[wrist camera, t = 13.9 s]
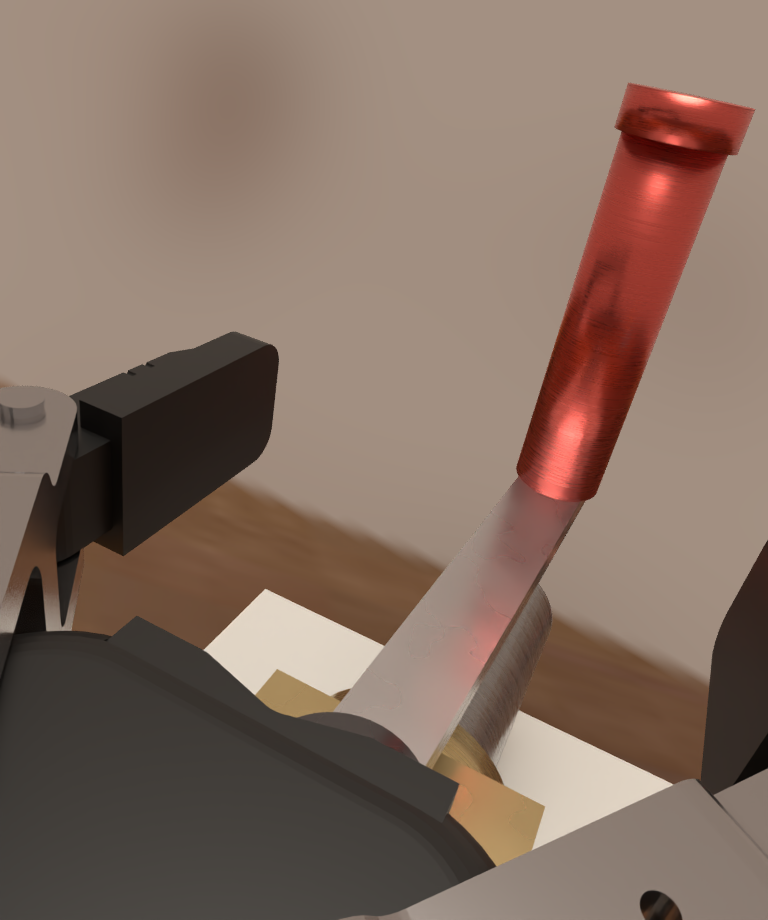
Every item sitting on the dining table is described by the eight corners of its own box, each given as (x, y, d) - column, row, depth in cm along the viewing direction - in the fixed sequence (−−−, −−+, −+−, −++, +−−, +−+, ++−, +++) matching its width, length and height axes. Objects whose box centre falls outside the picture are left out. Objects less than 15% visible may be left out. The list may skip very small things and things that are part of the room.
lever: (355, 991, 11) (631, 127, 5) (193, 876, 12) (253, 40, 6) (601, 514, 25) (763, 109, 18) (512, 478, 26) (636, 83, 19)
